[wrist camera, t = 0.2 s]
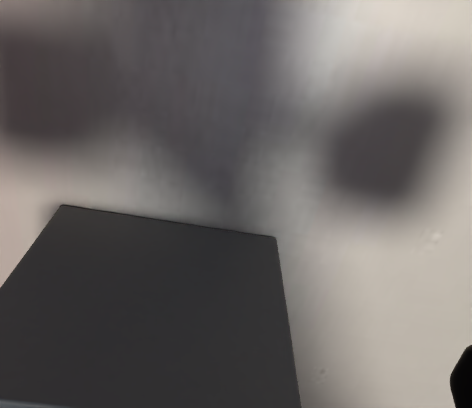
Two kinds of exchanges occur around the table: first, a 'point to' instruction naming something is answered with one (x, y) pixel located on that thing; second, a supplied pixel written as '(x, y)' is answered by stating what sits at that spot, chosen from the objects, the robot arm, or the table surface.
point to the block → (145, 318)
